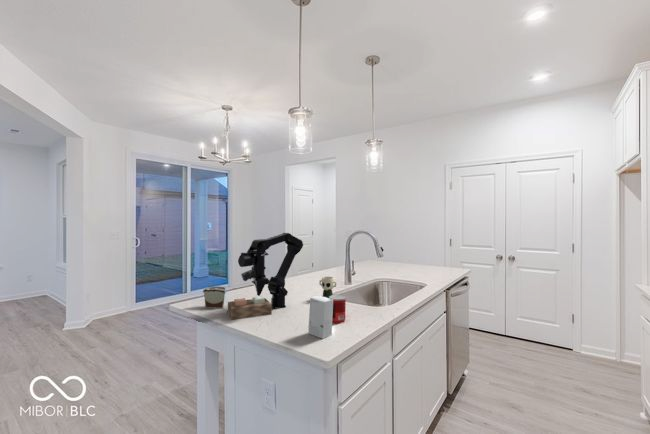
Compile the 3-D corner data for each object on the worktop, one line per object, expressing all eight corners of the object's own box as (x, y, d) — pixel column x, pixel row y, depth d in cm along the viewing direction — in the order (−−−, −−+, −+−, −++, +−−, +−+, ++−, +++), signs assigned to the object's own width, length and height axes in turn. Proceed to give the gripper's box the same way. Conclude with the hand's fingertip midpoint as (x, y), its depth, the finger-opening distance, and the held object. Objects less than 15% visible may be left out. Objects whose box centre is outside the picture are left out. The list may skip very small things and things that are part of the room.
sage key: (262, 303, 154) (262, 296, 154) (264, 305, 149) (264, 298, 149) (252, 304, 152) (252, 297, 152) (254, 306, 147) (254, 299, 147)
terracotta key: (244, 305, 150) (244, 297, 150) (246, 307, 145) (246, 300, 146) (234, 306, 148) (234, 299, 148) (235, 309, 143) (235, 301, 143)
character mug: (316, 300, 173) (316, 277, 174) (322, 297, 180) (322, 275, 180) (333, 302, 169) (333, 279, 169) (338, 299, 175) (338, 277, 175)
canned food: (347, 318, 141) (347, 295, 141) (342, 324, 133) (342, 299, 134) (331, 317, 143) (331, 294, 144) (326, 322, 136) (326, 298, 136)
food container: (230, 305, 162) (230, 286, 162) (225, 308, 156) (225, 289, 156) (208, 304, 163) (208, 286, 164) (202, 307, 157) (202, 288, 157)
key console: (264, 307, 159) (265, 297, 159) (271, 314, 147) (271, 304, 147) (227, 311, 150) (227, 301, 150) (231, 319, 139) (231, 308, 139)
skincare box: (308, 334, 122) (308, 297, 122) (317, 329, 127) (318, 294, 127) (323, 339, 117) (324, 301, 117) (333, 335, 121) (333, 298, 121)
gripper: (239, 263, 156) (239, 293, 156) (246, 268, 139) (246, 302, 139) (260, 261, 161) (260, 291, 160) (269, 267, 144) (269, 299, 144)
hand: (258, 295), depth 151 cm, fingers closed
